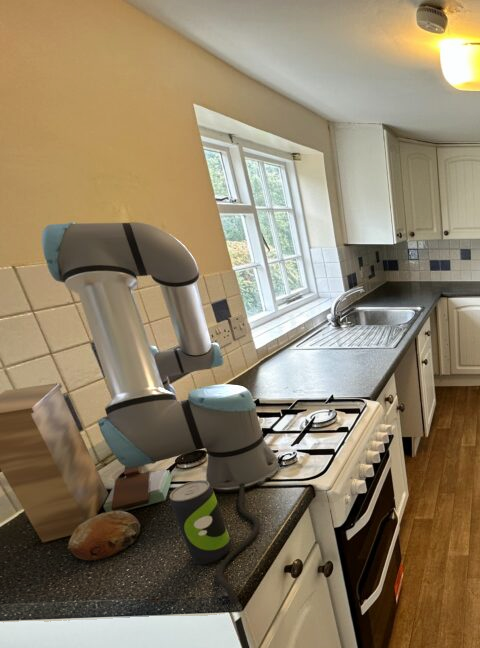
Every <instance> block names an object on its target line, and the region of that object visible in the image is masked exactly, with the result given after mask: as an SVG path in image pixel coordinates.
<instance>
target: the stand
mask: <svg viewBox="0 0 480 648" xmlns="http://www.w3.org/2000/svg"><path fill="white" fill-rule="evenodd" d="M62 388H63V385H62V383H61V382H56V383H47V384H42V385H35V386H27V387H20V388H13V389H6V390H4V391H3V392H1V393H0V471H1V473H2V474H3V476H4V478H5V480H6V482H7V483H8V485H9V487H10V488H11V490H12V492H13V493H14V496H15V497H16V499H17V501H18V502H19V504H20V507H22V510H23V512H24V513H25V515H26V517H27V518H28V519H29V522H30V523H31V525H32V527H33V528H34V531H35V532H36V534H37V536H38V537H39V539H40V541H41V543H42V544H43V543H47V542H50V541H54V540H58V539H62V538H66V537H69V536H72V534H73V532H74V531H75V529H76V528H77V527H78V526H79V525H80V524H82V523H83V522H85V521H86V520H88V519H90V518H92V517H94V516H96V515H99V514H100V510H101V509H102V506H104V504H105V502H106V500H107V498H108V496H109V492H108V490H107V487H106V486H105V483H104V481H103V479H102V477H101V474H100V472H99V470H98V468H97V465H96V463H95V461H94V459H93V457H92V455H91V453H90V450H89V448H88V446H87V444H86V443H85V440H84V438H83V436H82V433H81V431H80V429H79V427H78V425H77V423H76V421H75V419H74V417H73V414H72V412H71V410H70V408H69V406H68V404H67V401H66V399H65V397H64V395H63V392H62V391H61V389H62Z"/></svg>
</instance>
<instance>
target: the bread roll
mask: <svg viewBox="0 0 480 648" xmlns="http://www.w3.org/2000/svg"><path fill="white" fill-rule="evenodd" d="M140 531H141V524H140V522H139V520H138V519H137V518H136V516H135V515H133V514H132V513H130V512H127V511H111V512H106V511H105V512H102V513H98V515H96V516H94V517H92V518H90V519H88V520H86V521H85V522H83V523H82V524H80V525H79V526H78V527H77V528H76V529H75V531H74V532H73V534H72V535H70V538H69V540H68V549H69V550H70V551H71V553H72V555H73V556H74V557H75V558H77V559H80V560H83V561H96V560H102V559H105V558H109V557H111V556H113V555H115V554H117V553H119V552H120V551H123V550H125V549H127V548H128V547H129V546H130V545H132V544H133V543H134V542H135V541H136V539H137V538H138V536H139V534H140Z"/></svg>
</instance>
